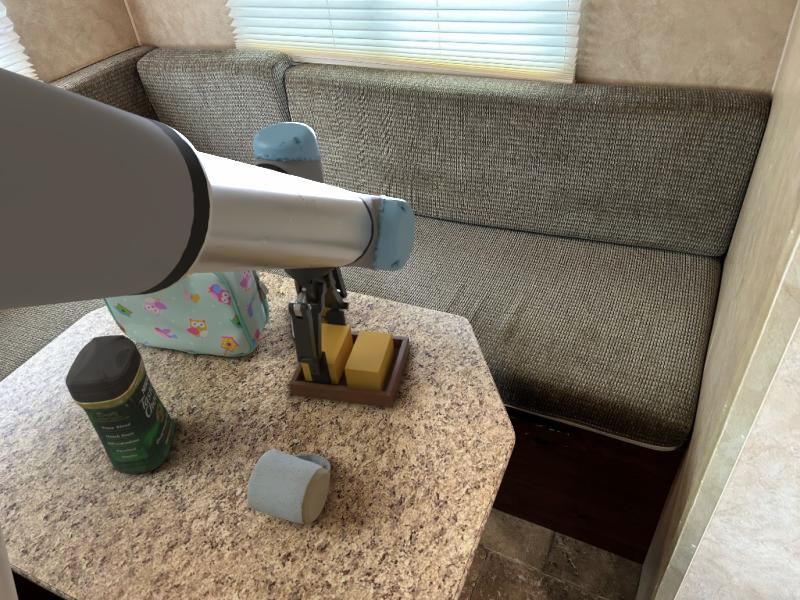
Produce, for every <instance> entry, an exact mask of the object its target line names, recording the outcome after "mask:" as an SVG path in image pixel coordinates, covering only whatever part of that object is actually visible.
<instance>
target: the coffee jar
mask: <svg viewBox="0 0 800 600" xmlns="http://www.w3.org/2000/svg"><path fill="white" fill-rule="evenodd" d="M64 382H65V385H66V387H67V390H68V392H69V394H70V397H71V399H72V401H74V403H75V404H76V405H77V406H79V407H80V408H81V409H82V410H83V411H84V413H85V414H86V415H87V417H88V419H89V421H90V423H91V425H92V427H93V428H94V431H95V432H96V435H97V436H98V438H99V440H100V442H101V445H102V447H103V450H104V451H105V454H106V455H107V457H108V459H109V462H110V463H111V465H112V467H113V468H114V470H115V471H117V472H118V473H122V474H124V475H125V474H127V475H136V474H144V473H146V472H151V471H153V470H155V469H157V468H158V467H160V466H161V465H163V463H164V462H165V461H166V459H167V457H168V454H169V452H170V451H171V447H172V444H173V442H174V436H175V432H176V431H175V430H176V426H175V422H174V421H173V419H172V417H171V415H170V413H169V411H168V410H167V408H166V406H165V405H164V403H163V402H162V400H161V399H160V396H159V394H158V393H157V391H156V389H155V388H154V386H153V384H152V382H151V380H150V378H149V376H148V373H147V369H146V365H145V363H144V359H143V356H142V354H141V353H140V350H139V349H138V347H137V344H136V343H135V342H134V340H133V339H131V338H130V337H128V336H125V334H112V335H111V334H110V335H102V336H94V337H92V338H91V340H89V342H88V343H86V344H85V345H84V346H83V347H82V348H81V349H80V350H79V352H78V354H77V355H76V357H75V358H74V360H73V362H72V364H71V366H70V368H69V370H68V372H67V374H66V378H65V381H64Z"/></svg>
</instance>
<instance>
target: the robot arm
mask: <svg viewBox="0 0 800 600" xmlns="http://www.w3.org/2000/svg"><path fill="white" fill-rule="evenodd" d="M252 146H253V157H254V158H255V161H256V162H255V164H254V165H251V164H247V163H243V162H240V161H235V160H232V159H228V158H224V157H220V156H216V155H212V154H208V153H204V152H200V151H197V149H195V147H194V145H193V144H192V143H191V142H190V141H189V140H188V139H187V138H186V137H185V136H184V135H183V134H181V133H180V132H179V131H178V130H176V129H175V128H173V127H171V126H169V125H168V124H165V123H162V122H160V121H158V120H154V119H151V118H147V117H145V116H141V115H138V114H135V113H132V112H129V111H126V110H124V109H120V108H118V107H115V106H112V105H110V104H107V103H104V102H101V101H98V100H96V99H92V98H90V97H86V96H85V95H81V94H79V93H76V92H73V91H70V90H67V89H64V88H62V87H59V86H56V85H53V84H50V83H47V82H44V81H41V80H38V79H35V78H32V77H29V76H27V75H23V74H21V73H18V72H15V71H12V70H8V69H5V68H2V67H0V311H3V310H11V309H20V308H21V309H22V308H30V307H31V308H32V307H39V306H40V307H41V306H49V305H58V304H67V303H76V302H83V301H92V300H103V298H111V297H120V296H132V295H144V294H151V293H156V292H160V291H163V290H166V289H168V288H170V287H172V286H174V285H175V284H177V283H178V282H180V281H181V280H182V279H184V278H185V277H186V276H187V275H188V274H193V273H214V272H234V271H255V270H257V271H273V270H274V271H275V270H283V271H284V272H285V274H286V275H288V276H289V277H290V278H292V279H293V280H295V281H296V288H295V291H296V295H298V296H297V297H296V300H295V301H289V302H288V305H287V310H288V313H289V314H290V318H291V317H292V323H291V325H292V324H293V331H294V337H293V338H294V345H295V353H296V361H297V362H298V364H299V363H307V364H308V365H309V369H310V374H311V378H312V382H313V383H318V384H326V385H331V378H330V374H329V369H328V364H327V359H326V354H325V352H324V351H322V329H321V312H322V311H323V310H324V309H325V304H326V306H327V308H330V309H331V310H327V311H326V317H327V322H328V324H332V325H342V326H347V322H346V317H345V311H344V310H346V311H347V310H349V307H350V303H349V302H348V301H344V299H345V300H346V299H347V297H348V291H347V288H346V284H345V281H344V278H343V277H344V276H343V274H342V271H341V268H351V267H352V268H359V269H368V270H372V271H375V272H376V271H386V272H398V271H401V270H402V269H403V268H404V267H406V265H407V263H408V261H409V259H410V256H411V254H412V250H413V246H414V243H415V234H416V233H415V232H416V219H415V214H414V210H413V208H412V205H411V204H410V203H409V202H408V201H407V200H405V199H403V198H396V197H389V196H387V195H385V194H380V195H373V194H366V193H365V194H364V193H359V192H355V191H353V190H352V191H351V190H347V189H343V188H340V187H336V186H333V185H329V184H326V183H325V177H324V169H323V164H322V159H323V157H322V154H321V151H320V148H319V143H318V140H317V136H316V132H315V131H314V130H313V129H312V127H310V126H309V125H307V124H305V123H302V122H297V121H296V122H295V121H285V122H283V121H282V122H277V123H273V124H269V125H267V126H265V127H263V128H261V129H260V130H258V131H257V132H256V133H255V134H254V136H253V140H252ZM308 303H314V304H317V303H318V305H309V304H308ZM7 550H8V549H7V545H6V541H5V536H4V532H3V527H2V525H1V523H0V600H19V596H18V593H17V588H16V584H15V580H14V575H13V571H12V567H11V563H10V559H9V555H8V551H7Z"/></svg>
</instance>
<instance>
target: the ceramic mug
mask: <svg viewBox="0 0 800 600" xmlns="http://www.w3.org/2000/svg"><path fill="white" fill-rule="evenodd" d="M330 478H331V463H330V461H329V460H328V459H327V458H325V457H324V456H322V455H320V454H316V453H310V452H302V453H298V454H295V455H292V454H290V453H287V452H284V451H282V450H279V449H275V448H272V449H269V450H267V451H265V452H264V453H263V454H262V455H261V456H260V458H258V460H257V461H256V464H255V466H254V467H253V469H252V472H251V474H250V476H249V480H248V483H247V488H246V489H247V490H246V498H247V499H246V500H247V505H248V507H249V508H250V509H251V510H252V511H256V512H260V513H263V514H266V515H270V516H272V517H276V518H279V519H283V520H286V521H289V522H291V523H296V524H301V525H308V524H309V525H310V524H312V523H313V522H314V521H315V520H316V519H318V517H319V516H320V514H321V513H322V511H323V509H324V507H325V505H326V502H327V500H328V496H329V491H330V482H331V479H330Z"/></svg>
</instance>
